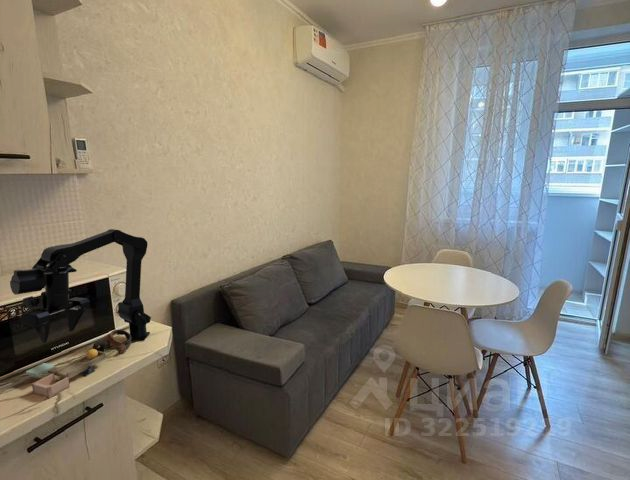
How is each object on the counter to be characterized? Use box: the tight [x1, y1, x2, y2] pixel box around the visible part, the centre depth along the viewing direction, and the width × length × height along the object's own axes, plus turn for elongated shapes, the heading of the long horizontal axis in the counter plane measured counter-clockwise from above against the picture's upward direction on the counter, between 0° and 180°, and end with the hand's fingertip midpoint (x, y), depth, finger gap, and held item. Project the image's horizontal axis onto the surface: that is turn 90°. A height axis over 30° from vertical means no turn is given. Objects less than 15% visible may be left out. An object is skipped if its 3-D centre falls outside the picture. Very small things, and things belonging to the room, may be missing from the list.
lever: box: [25, 351, 107, 380], centre depth 101 cm, size 15×14×2 cm
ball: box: [86, 348, 98, 359], centre depth 104 cm, size 3×3×3 cm
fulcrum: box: [78, 367, 96, 377], centre depth 102 cm, size 3×5×2 cm, turn 72°
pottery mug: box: [92, 329, 132, 355], centre depth 114 cm, size 12×10×8 cm
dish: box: [31, 374, 71, 399], centre depth 92 cm, size 6×6×3 cm
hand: (58, 336), depth 101 cm, fingers open, 9 cm apart
